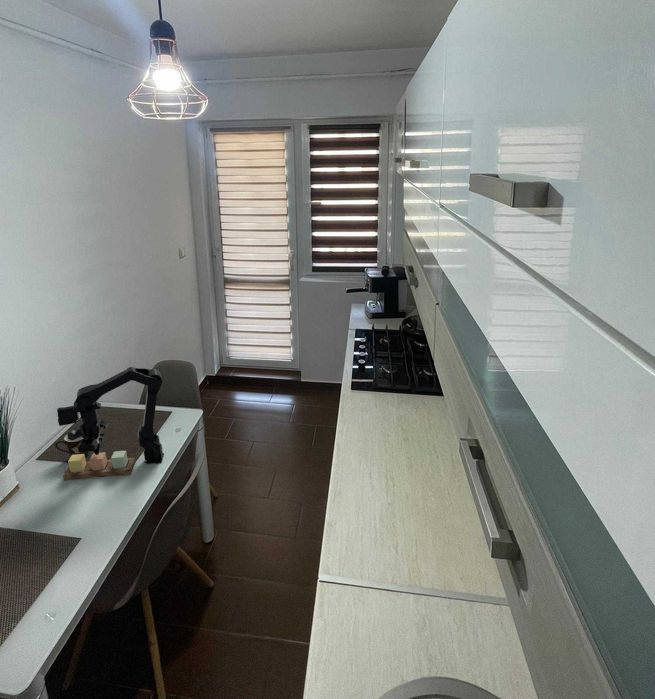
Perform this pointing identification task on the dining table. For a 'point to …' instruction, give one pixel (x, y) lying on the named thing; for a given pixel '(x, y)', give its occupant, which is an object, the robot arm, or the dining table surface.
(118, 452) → the mint green cube
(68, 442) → the coffee mug
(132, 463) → the brown wooden board
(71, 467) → the yellow cube
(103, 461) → the terracotta cube
